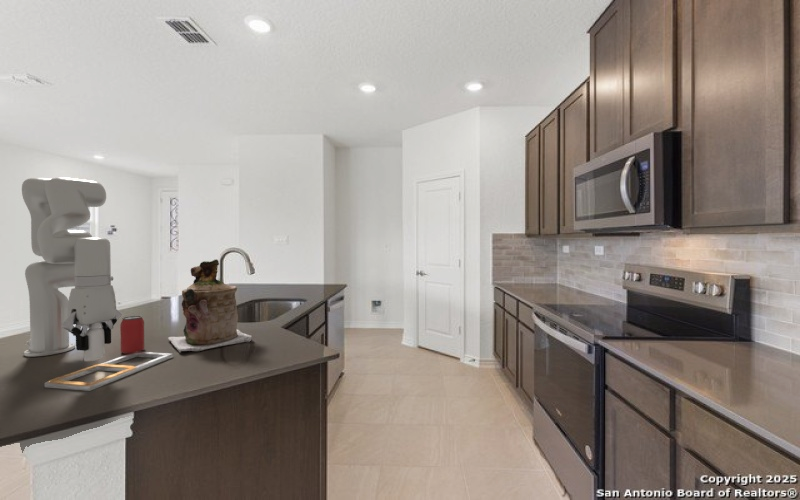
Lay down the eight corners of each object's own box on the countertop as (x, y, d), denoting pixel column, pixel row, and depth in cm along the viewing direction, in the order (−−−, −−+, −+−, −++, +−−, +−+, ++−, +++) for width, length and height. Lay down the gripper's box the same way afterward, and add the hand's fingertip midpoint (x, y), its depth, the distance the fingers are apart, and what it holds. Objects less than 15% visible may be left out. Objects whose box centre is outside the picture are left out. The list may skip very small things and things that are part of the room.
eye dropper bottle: (77, 361, 94) (76, 317, 94) (100, 354, 100) (99, 313, 99) (88, 362, 93) (87, 318, 93) (111, 356, 98) (110, 314, 98)
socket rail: (44, 387, 91) (44, 381, 91) (136, 354, 117) (136, 350, 117) (89, 390, 88) (89, 385, 88) (173, 357, 115) (173, 353, 115)
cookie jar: (233, 330, 151) (233, 257, 150) (254, 342, 133) (254, 259, 132) (166, 340, 134) (165, 258, 134) (179, 356, 116) (178, 261, 115)
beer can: (131, 354, 117) (131, 319, 117) (115, 353, 118) (115, 318, 118) (149, 349, 123) (148, 315, 123) (134, 347, 125) (133, 314, 124)
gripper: (112, 278, 105) (113, 337, 105) (46, 285, 88) (47, 355, 88) (133, 279, 104) (134, 338, 104) (70, 286, 87) (71, 357, 87)
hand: (94, 346), depth 96 cm, fingers closed on eye dropper bottle, 5 cm apart
